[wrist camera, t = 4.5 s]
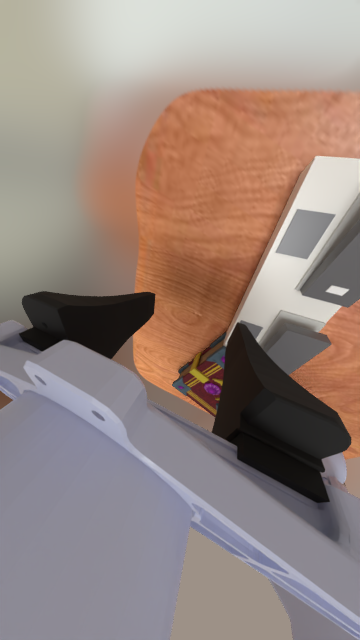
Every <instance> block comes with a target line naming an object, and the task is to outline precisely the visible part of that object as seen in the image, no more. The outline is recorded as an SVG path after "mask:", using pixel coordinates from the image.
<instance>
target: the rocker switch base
mask: <svg viewBox="0 0 360 640" xmlns="http://www.w3.org/2000/svg"><path fill="white" fill-rule="evenodd" d="M359 219H360V159H355V158H340V157H325V156H316V157H315V158H314V159H313V160H312V161H311V162H310V163H309V164H308V165H307V167H306V168H305V169H304V170H303V171H302V172H301V174H300V176H299V178H298V180H297V182H296V184H295V187H294V189H293V191H292V193H291V195H290V197H289V199H288V202H287V204H286V206H285V208H284V210H283V212H282V215H281V217H280V219H279V221H278V223H277V225H276V227H275V230H274V232H273V234H272V236H271V238H270V240H269V242H268V245H267V247H266V249H265V251H264V253H263V255H262V258H261V260H260V262H259V264H258V266H257V268H256V270H255V273H254V275H253V277H252V279H251V281H250V283H249V285H248V288H247V290H246V292H245V294H244V296H243V298H242V301H241V303H240V305H239V307H238V309H237V311H236V313H235V316H234V318H233V320H232V322H231V324H230V326H229V328H228V331H227V333H226V336H225V339H224V344H223V345H224V346H225V347H226V346H227V342H228V340H229V338H230V336H231V334H232V332H233V330H234V328H235V326H236V324H237V322H239V323H242V324H245V325H246V326H247V327H248V329H249V330H250V332H251V333H252V335H253V336H254V338H255V339H256V341H257V342H258V344H259V345H260V346H261V347H262V349H263V347H264V346H265V345H266V344H267V343H268V342H269V341H270V339H271V338H272V337H273V336H274V335H275V334H276V333H277V331H278V330H279V329H280V328H281V327H282V326H283V325H284V323H285V322H286V323H289V324H292V325H296V326H299V327H302V328H305V329H308V330H312V331H315V332H319V331H320V330H321V329H322V328H323V327H324V326H325V325H326V324H325V323H326V322H327V321H328V320H329V319H330V318H331V317H332V316H333V315H334V314H335V313H336V312H337V311H338V310H339V308H340V307H341V306H340V305H337V304H333V303H329V302H325V301H321V300H318V299H314V298H310V297H306V296H303V295H302V294H301V291H300V289H301V287H302V286H303V284H304V283H305V282H306V281H307V280H308V278H309V277H310V276H311V275H312V274H313V273H314V271H315V270H316V269H317V268H318V267H319V266H320V264H321V263H322V262H323V261H324V260H325V259H326V257H327V256H328V255H329V254H330V253H331V252H332V251H333V249H334V248H335V247H336V246H337V245H338V244H339V242H340V241H341V240H342V239H343V238H344V237H345V235H346V234H347V233H348V232H349V231H350V230H351V228H352V227H353V226H354V225H355V224H356V223H357V221H358V220H359Z"/></svg>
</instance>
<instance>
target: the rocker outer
mask: <svg viewBox="0 0 360 640" xmlns="http://www.w3.org/2000/svg"><path fill="white" fill-rule="evenodd" d="M300 291H301V294H302V295H303V296H306V297H310V298H314V299H318V300H321V301H325V302H329V303H333V304H337V305H340V306H344V307H349V306H351V305H352V304H354V303H355V302H356V301H358V300H359V299H360V219H359V220H358V221H357V223H356V224H355V225H354V226H353V227H352V228H351V230H350V231H349V232H348V233H347V234H346V235H345V237H344V238H343V239H342V240H341V241H340V242H339V244H338V245H337V246H336V247H335V248H334V249H333V251H332V252H331V253H330V254H329V255H328V256H327V257H326V259H325V260H324V261H323V262H322V263H321V264H320V266H319V267H318V268H317V269H316V270H315V271H314V273H313V274H312V275H311V276H310V277H309V278H308V280H307V281H306V282H305V283H304V284H303V286H302V287H301V289H300Z"/></svg>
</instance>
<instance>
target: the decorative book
mask: <svg viewBox="0 0 360 640" xmlns="http://www.w3.org/2000/svg"><path fill="white" fill-rule="evenodd" d="M225 336H226V332H225V333H224V334H223V335H221V336H220V337H219V338H218V339H217V340H215V341H214V342H213V343H212V344H211V345H210V347H209V348H207V349H206V350H205V351H204V352H199V353H198V354H197V355H196V356H195V359H194V360H192V361H191V362H190V363H187V364H186V365H185V366H183V367H182V368H181V369H179V371H178V372H179V373H180V376H179V378H178V379H177V380H176V381H174V382H173V384H172V386H173V387H175V388H176V389H177V390H179V391H180V392H181V393H183V394H184V395H185V396H188V397H190V398H191V399H192V400H193V401H195V402H196V403H197V404H199V405H200V406H201V407H202V408H204V409H205V410H206V411H208V412H209V413H210V414H211V415H213V416H214V417H216V413H217V408H218V404H219V399H220V394H221V389H222V383H223V376H224V363H225V351H226V347H225V346H224V345H223V344H224V339H225Z"/></svg>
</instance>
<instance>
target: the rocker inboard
mask: <svg viewBox="0 0 360 640" xmlns="http://www.w3.org/2000/svg"><path fill="white" fill-rule="evenodd" d="M330 345H331V342H330V340H329V339H328V337H327V335H325V334H321V333H318V332H315V331H312V330H308V329H305V328H302V327H299V326H296V325H292V324H289V323H286V322H285V323H284V325H283V326H282V327H281V328H280V329H279V330H278V331H277V333H276V334H275V335H274V336H273V337H272V338H271V339H270V341H269V342H268V343H267V344H266V345H265V346H264V347H263V350H264V351H265V352H266V354H267V355H268V356H269V357H270V358H271V359H272V360H273V361H274V362H275V363H276V364H277V365H278V366H279V367H280V368H281V369H282V370H283V371H284V372H285V373H286V374H287V375H289V374H291V373H292V372H293V371H295V370H296V369H298V368H299V367H300V366H302V365H303V364H305V363H306V362H308V361H309V360H310V359H312V358H313V357H315V356H316V355H317V354H319V353H320V352H322V351H323V350H324V349H326V348H327V347H329V346H330Z"/></svg>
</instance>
